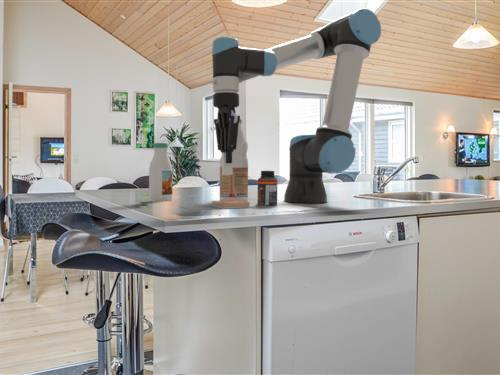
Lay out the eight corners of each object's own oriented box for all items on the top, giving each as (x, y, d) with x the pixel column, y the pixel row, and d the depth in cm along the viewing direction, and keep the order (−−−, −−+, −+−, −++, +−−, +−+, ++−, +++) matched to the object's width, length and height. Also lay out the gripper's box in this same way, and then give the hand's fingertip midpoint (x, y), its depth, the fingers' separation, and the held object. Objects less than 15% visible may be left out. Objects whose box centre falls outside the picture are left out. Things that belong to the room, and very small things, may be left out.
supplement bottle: (254, 207, 135) (254, 170, 135) (271, 206, 138) (272, 170, 137) (262, 209, 130) (263, 170, 129) (280, 208, 132) (281, 170, 132)
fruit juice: (216, 204, 144) (216, 117, 142) (224, 202, 153) (224, 120, 152) (244, 205, 142) (244, 117, 140) (250, 202, 151) (251, 120, 149)
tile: (236, 199, 132) (249, 202, 125) (236, 205, 132) (249, 207, 125) (212, 200, 128) (223, 203, 121) (212, 206, 128) (223, 208, 121)
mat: (233, 206, 136) (233, 203, 136) (253, 211, 125) (253, 207, 125) (177, 209, 128) (177, 205, 128) (193, 214, 116) (193, 210, 116)
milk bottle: (153, 203, 144) (153, 142, 143) (146, 202, 150) (145, 143, 149) (175, 203, 148) (175, 143, 147) (167, 201, 154) (167, 143, 153)
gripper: (205, 95, 132) (206, 174, 133) (223, 89, 120) (225, 175, 122) (228, 96, 135) (229, 173, 137) (248, 90, 124) (249, 174, 125)
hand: (227, 174), depth 129 cm, fingers closed
